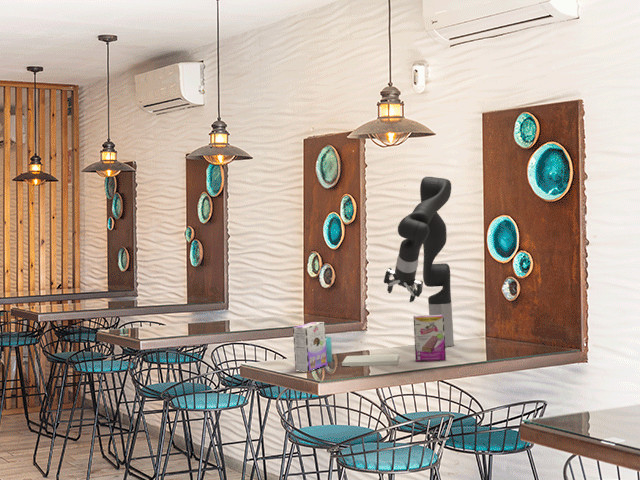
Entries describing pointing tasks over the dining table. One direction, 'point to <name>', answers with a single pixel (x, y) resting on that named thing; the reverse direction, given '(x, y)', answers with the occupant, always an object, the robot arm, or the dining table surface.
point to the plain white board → (371, 360)
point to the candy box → (310, 346)
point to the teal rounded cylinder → (329, 349)
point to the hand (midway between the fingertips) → (400, 296)
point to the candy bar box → (429, 338)
